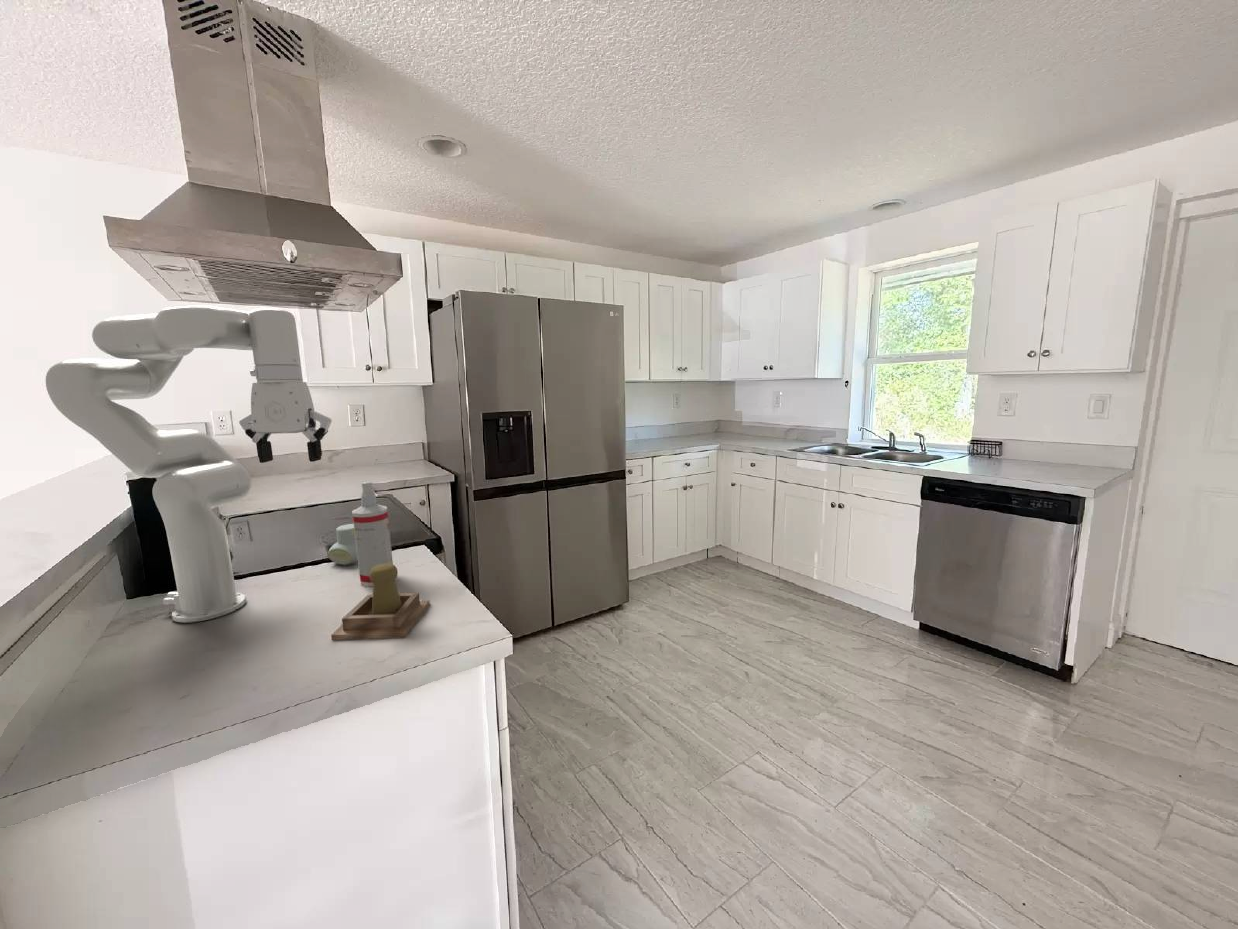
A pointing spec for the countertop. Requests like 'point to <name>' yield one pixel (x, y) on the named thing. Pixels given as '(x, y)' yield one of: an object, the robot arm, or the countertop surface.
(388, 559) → the white squeeze bottle
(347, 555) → the pale green rounded piece
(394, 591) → the cork
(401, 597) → the walnut holder
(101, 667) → the countertop surface
